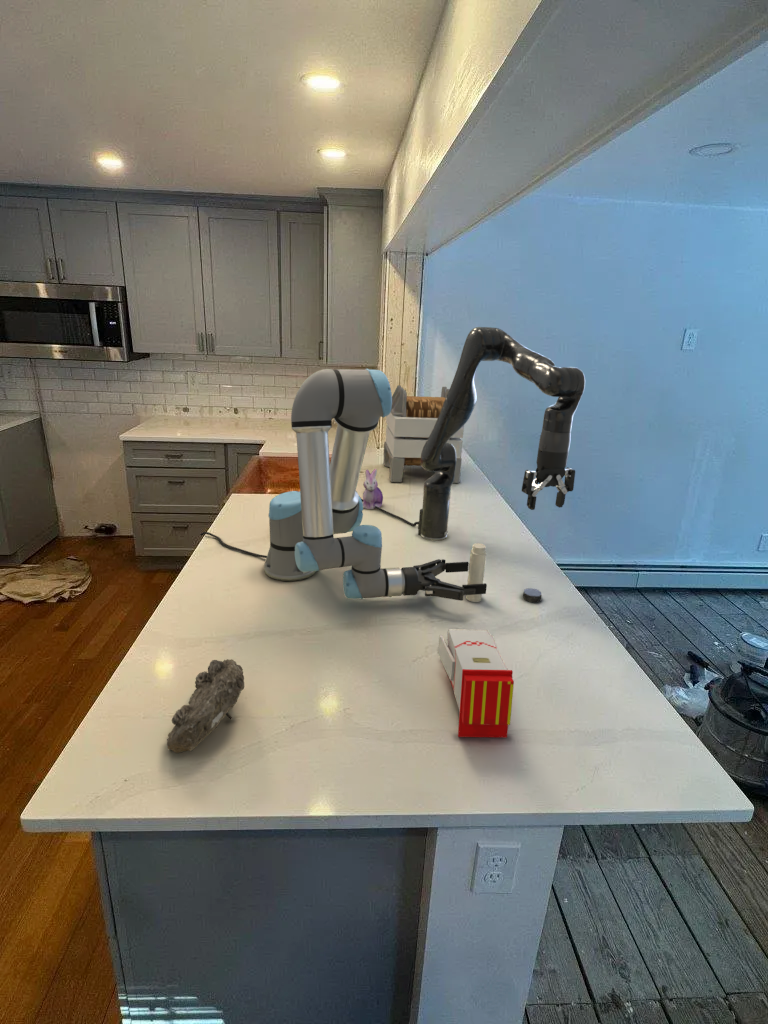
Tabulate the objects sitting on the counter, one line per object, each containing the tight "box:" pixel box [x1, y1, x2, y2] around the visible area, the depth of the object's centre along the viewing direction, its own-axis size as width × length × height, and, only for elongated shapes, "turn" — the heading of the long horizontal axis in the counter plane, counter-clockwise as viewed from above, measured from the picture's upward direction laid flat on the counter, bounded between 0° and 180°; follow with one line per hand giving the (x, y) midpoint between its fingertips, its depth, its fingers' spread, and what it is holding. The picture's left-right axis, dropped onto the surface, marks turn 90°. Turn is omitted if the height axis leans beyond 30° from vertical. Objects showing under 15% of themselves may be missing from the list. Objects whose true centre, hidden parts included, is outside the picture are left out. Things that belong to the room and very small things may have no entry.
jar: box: [465, 542, 487, 603], centre depth 155 cm, size 4×4×16 cm
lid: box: [522, 587, 542, 604], centre depth 158 cm, size 5×5×2 cm
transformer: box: [383, 384, 465, 484], centre depth 268 cm, size 34×33×41 cm
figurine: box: [362, 468, 384, 510], centre depth 224 cm, size 9×10×15 cm
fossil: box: [166, 658, 245, 754], centre depth 106 cm, size 22×10×15 cm
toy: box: [437, 628, 515, 738], centre depth 117 cm, size 12×13×30 cm
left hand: (476, 577), depth 155 cm, fingers open, 13 cm apart
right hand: (544, 507), depth 150 cm, fingers open, 8 cm apart
